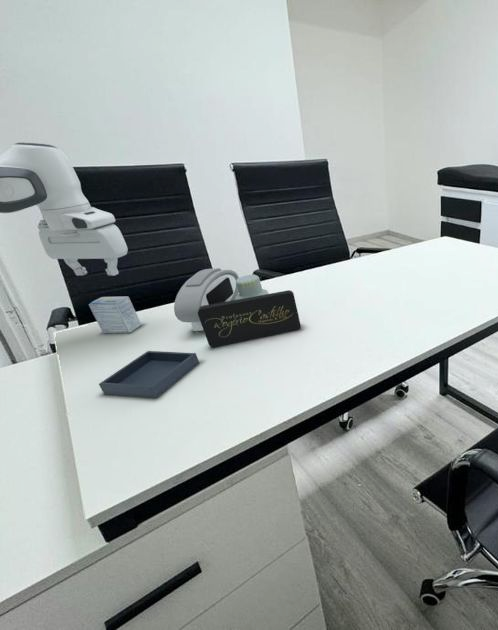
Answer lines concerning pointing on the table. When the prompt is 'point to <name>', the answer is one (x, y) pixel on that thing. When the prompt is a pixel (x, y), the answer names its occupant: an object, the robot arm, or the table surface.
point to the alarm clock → (204, 293)
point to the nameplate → (249, 318)
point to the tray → (149, 374)
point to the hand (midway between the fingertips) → (97, 274)
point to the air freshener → (249, 287)
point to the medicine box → (115, 314)
